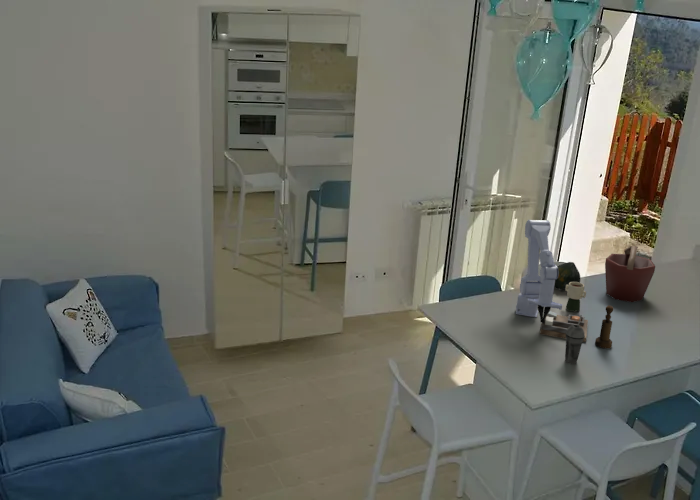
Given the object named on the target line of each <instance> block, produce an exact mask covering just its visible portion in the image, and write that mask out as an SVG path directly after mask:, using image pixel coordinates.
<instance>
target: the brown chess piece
mask: <svg viewBox="0 0 700 500" xmlns="http://www.w3.org/2000/svg"><path fill="white" fill-rule="evenodd" d="M613 311H614V307H613V305H611V304H610V305H606V307H605V312H606V314H605V319H602V322H601V325H600V332H599V333H600V334H599V336H598V337H596V338H595V340H594V345H595V346H596V347H598V348H600V349H606V350H607V349H611V348H612V346H613V341H612V340H611V338H610V336H611V331H612V325H613V321H612V320H611V318H612V316H611V314H612V313H613Z"/></svg>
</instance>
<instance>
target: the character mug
mask: <svg viewBox="0 0 700 500" xmlns="http://www.w3.org/2000/svg"><path fill="white" fill-rule="evenodd" d="M564 291H566V293H567V294H566V296H567V298H568V299H567V302H566V305H565V308H566V310H568V311H569V312H578V311H580V309H581V299H585V298H586V297H587V291H585V284H584V283H582V282H580V283H579V282H570V283H569V285H566V288H565V289H564Z"/></svg>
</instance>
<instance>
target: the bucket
mask: <svg viewBox="0 0 700 500" xmlns="http://www.w3.org/2000/svg"><path fill="white" fill-rule="evenodd" d="M638 247H639V246H637V245H630V246H629V247H627V248H625V249H624V253H611V254H610V255H609V256H607V257H606V258H605V264H604V270H605V273H604V274H605V290H606V295H607V294H608V296H609V295H610V296H609V297H610V298H612V297H613V298H612V299H614V300H617V301H622V302H627V303H634V302H635V303H637V302H640V301H643V299H644V297H645V295H646V293H647V290H648V287H649V285H650V283H651V280H652V278H653V276H654V274H655V272H656V271H655V270H656V265H655V263H654V262H653V261H652V260H651V259H649V258H646V257H643V256H639V255H637V251H638Z"/></svg>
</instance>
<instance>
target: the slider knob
mask: <svg viewBox="0 0 700 500" xmlns="http://www.w3.org/2000/svg"><path fill="white" fill-rule="evenodd" d="M553 318H554V317H548V316H546V321H545V325H550V326H552V325H553Z"/></svg>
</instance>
